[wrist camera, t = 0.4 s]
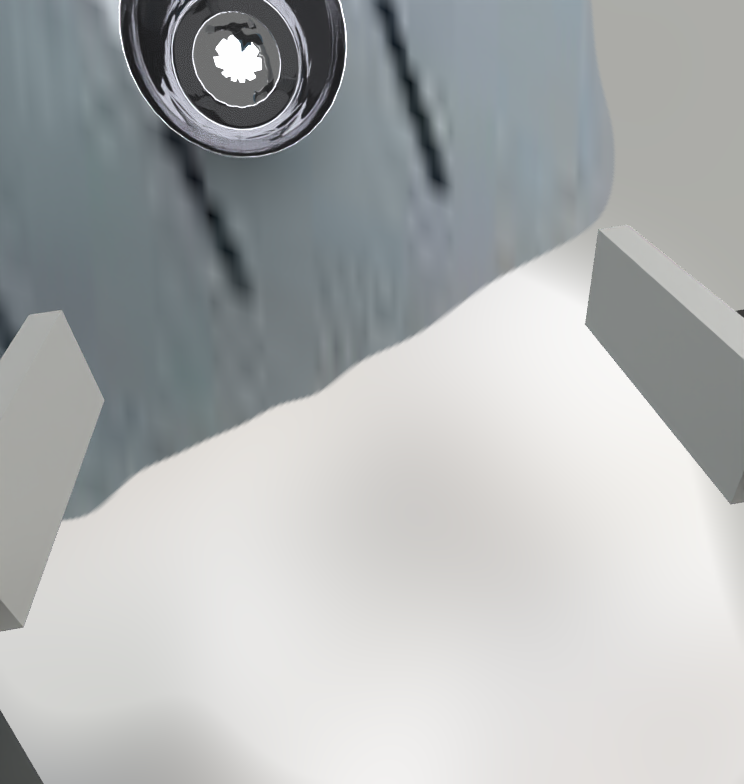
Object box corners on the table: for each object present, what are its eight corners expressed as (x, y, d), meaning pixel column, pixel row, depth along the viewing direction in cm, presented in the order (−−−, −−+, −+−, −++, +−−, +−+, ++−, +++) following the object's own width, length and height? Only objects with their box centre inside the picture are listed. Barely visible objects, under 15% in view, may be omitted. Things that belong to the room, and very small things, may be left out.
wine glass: (332, 107, 37) (389, 65, 23) (232, 193, 37) (230, 202, 23) (241, -19, 34) (245, -156, 20) (134, 76, 34) (65, 8, 20)
